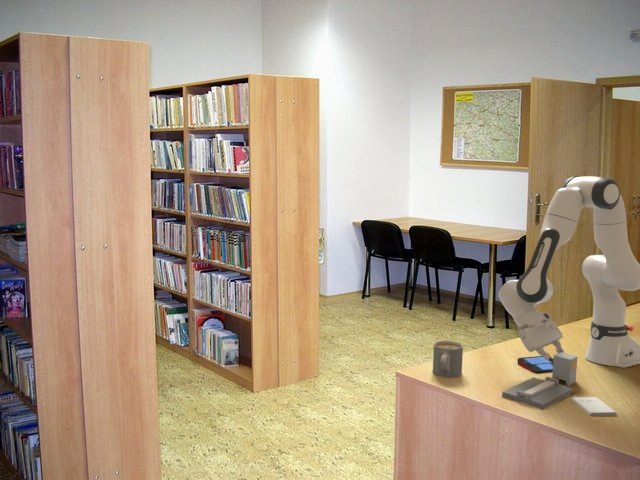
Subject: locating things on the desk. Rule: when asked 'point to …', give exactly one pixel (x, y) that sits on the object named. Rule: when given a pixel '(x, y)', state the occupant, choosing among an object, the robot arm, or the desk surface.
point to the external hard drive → (593, 406)
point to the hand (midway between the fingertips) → (555, 356)
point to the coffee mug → (447, 358)
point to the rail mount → (538, 392)
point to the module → (565, 367)
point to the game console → (536, 364)
